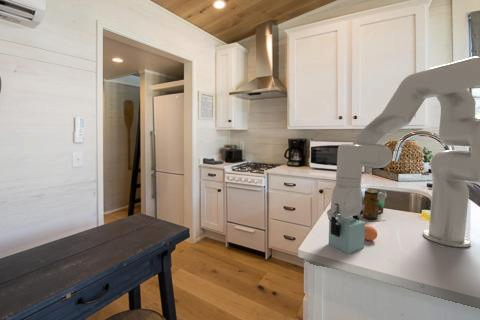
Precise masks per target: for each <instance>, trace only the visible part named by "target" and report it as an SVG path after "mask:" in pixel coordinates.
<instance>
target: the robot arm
mask: <svg viewBox="0 0 480 320" xmlns="http://www.w3.org/2000/svg"><path fill="white" fill-rule="evenodd" d="M478 86H480V56H471V57H469V58H463V59H462V60H461V59H460V60H457V61H455V62H451V63H447V64H442V65H439V66H438V65H437V66H434V67H430V68H427V69H424V70H421V71H417V72H415V73H412V74H409V75H407V76H406V77H405V78H404V79H402V81H401V82H400V83H399V86H398V87H397V88H396V90H395V91H394V93H393V94H392V96H391V98H390V100H389V101H388V103H387V104H386V106H385V108H384V109H383V110H382V112H381V113H380V114H378V116H376V117H375V118H374V119H372V121H370V122H369V123H368V124H367V125H366V126H365V127H364V128H363V129H362V130H361V131H360V132H359V133H358V135H357V136H356V138H355V139H354V141H353V143H352V144H351V143H348V144H347V143H343V144H339V146H338V147H337V155H336V156H337V158H336V159H337V160H336V176H335V185H334V187H333V190H332V193H331V201H330V208H329V209H328V210H327V211H326V214H327V218H328V220H330V222H331V234H333V235H335V236H337V237H340V229H341V225H340V222H341V220H342V218H347V217H351V218H354V219H357V220H362V217H361V215H362V214H363V209H364V207H365V205H363V200H362V199H363V197H362V177H363V167H367V168H373V169H375V168H376V169H380V168H385V167H386V166H388V165H389V164H390V163H391V162H392V160H393V152H392V150H391V149H390V148H389V147H388V146H386V145H385V144H380V143H379V142H380V141H381V140H382V139H383V138H384V137H386V136H388V135H389V134H392V133H394V132H396V131H399V130H401V129H402V128H404V127H406V126H408V125H409V124H410V123H411V122H412V121H413V118H414V117H415V115H416V114H417V112H418V110H419V109H420V108H421V106H422V105H423V103H424V101H425V100H426V99H429V98H436V99H437V101H438V102H439V105H440V117H439V130H438V137H439V138H438V139H439V142H440V143H441V144H443V145H444V146H449V147H458V148H459V147H460V148H461V147H462V148H470V151H468V150H453V149H452V150H450V149H447V150H442V151H438V152H437V153H435V154H434V155H433V156H432V158H431V160H430V171H431V172H430V173H431V175H432V176H431V177H432V185H431V187H432V189H431V190H432V191H431V200H430V211H429V212H430V213H429V225H428V226H429V227H428V229H425V230H423V232H422V235H423V237H424V238H425V239H427V240H429V241H431V242H434V243H437V244H440V245H442V246H447V247H456V248H467V247H470V246H471V242H472V241H471V239H469V238H467V237H466V227H467V218H468V208H469V199H470V190H469V186H468V185H467V183H466V182H470V183H477V184H480V116H476V106H477V105H476V99H475V98H474V96H473V93H471V92H470V90H468V89H471V88H474V87H478ZM378 143H379V144H378ZM336 217H338V219H337V220H336Z"/></svg>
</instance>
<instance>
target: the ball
mask: <svg viewBox="0 0 480 320" xmlns="http://www.w3.org/2000/svg"><path fill="white" fill-rule="evenodd" d="M377 237H378V231H377V229H376V228H375V227H373V226H371V225H365V235H364V240H367V241H370V242H371V241H375V240H377Z"/></svg>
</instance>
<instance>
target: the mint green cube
mask: <svg viewBox="0 0 480 320" xmlns="http://www.w3.org/2000/svg"><path fill="white" fill-rule="evenodd" d="M337 219H338V217H336V220H337ZM328 220H329V219H328ZM328 224H329V225H328V227H329V228H328V245H330V246H332V247H334V248H336V249H338V250H339V251H343V252H345V253H346V254H351V253H354V252H357V251H360V250H361V249H362V250H363V249H364V248H365V238H364V235H365V226H366V221H363V220H361V219H359V220H357V219H354V218H351V217H347V218H342V220H341V222H340V225H341V229H340V237H337V236H335V235H333V234H331V222H330V220H329V223H328Z"/></svg>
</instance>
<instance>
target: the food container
mask: <svg viewBox="0 0 480 320" xmlns="http://www.w3.org/2000/svg"><path fill="white" fill-rule="evenodd" d="M367 190H371V191H376V192H378V199H379V202H378V215H381V214H382V215H383V213H384V208H385V203H386V200H385V199H386V198H387V197H388V196H387V192H386V191H384V190H382V189H380V188H379V189H378V188H368V189H367Z"/></svg>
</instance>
